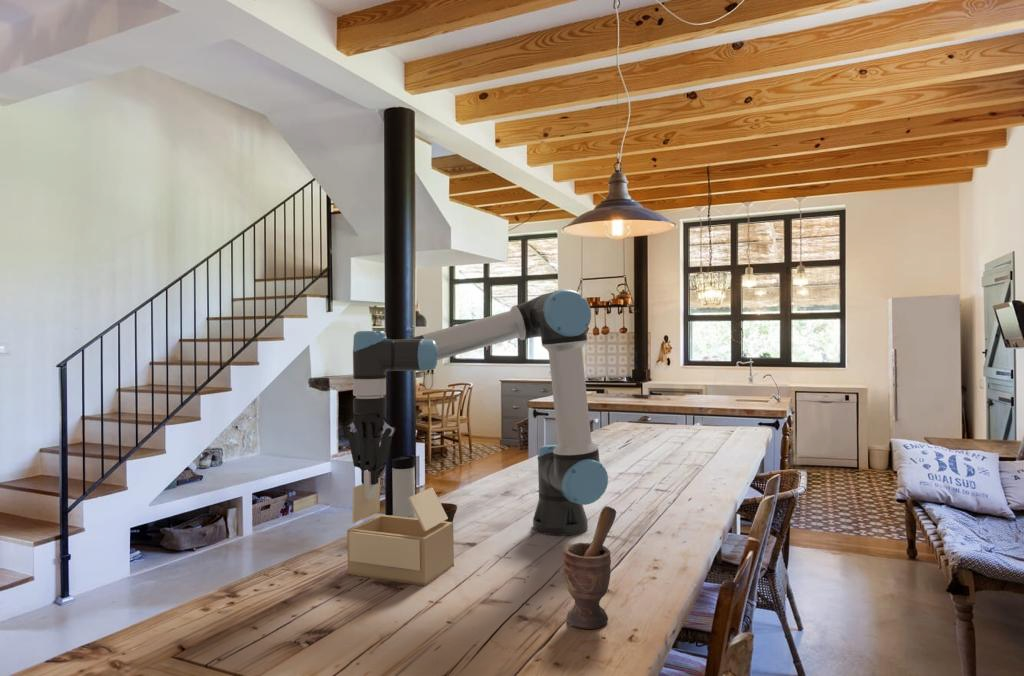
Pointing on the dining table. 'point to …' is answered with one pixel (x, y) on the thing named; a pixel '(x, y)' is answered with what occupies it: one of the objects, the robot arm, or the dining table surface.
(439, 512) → the flap near
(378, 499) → the flap far
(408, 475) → the travel mug
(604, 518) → the mortar and pestle
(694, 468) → the dining table surface
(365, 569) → the carton
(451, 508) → the cup
